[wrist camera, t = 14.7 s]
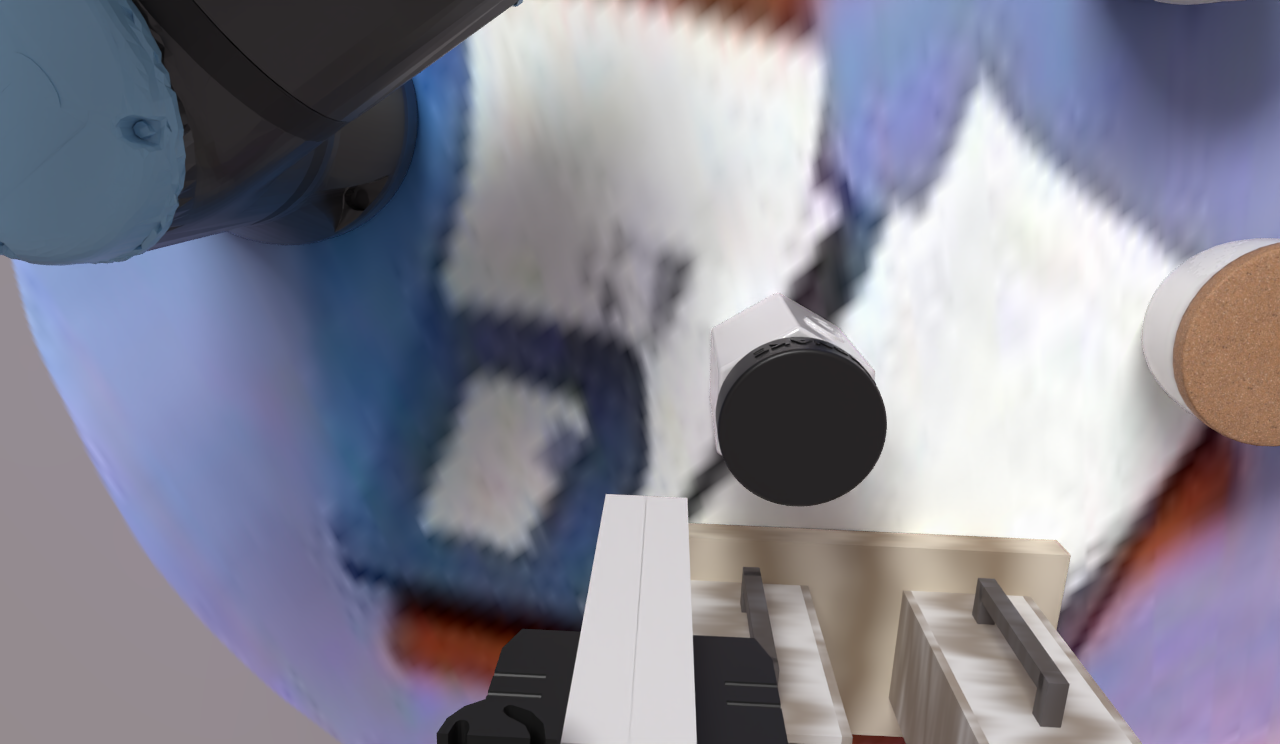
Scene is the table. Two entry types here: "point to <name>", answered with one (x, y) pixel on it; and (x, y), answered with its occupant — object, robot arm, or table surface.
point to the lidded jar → (1221, 339)
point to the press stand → (904, 634)
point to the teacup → (1192, 1)
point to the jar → (793, 404)
